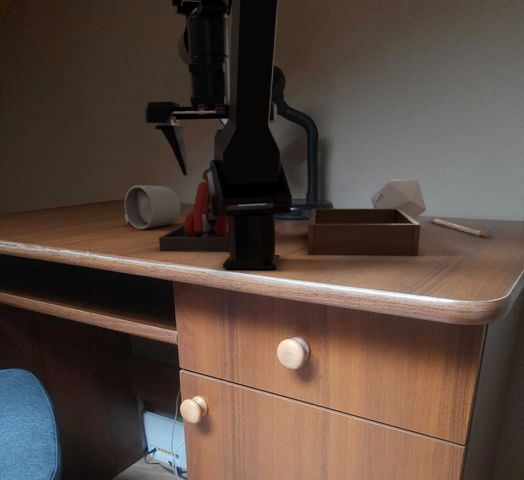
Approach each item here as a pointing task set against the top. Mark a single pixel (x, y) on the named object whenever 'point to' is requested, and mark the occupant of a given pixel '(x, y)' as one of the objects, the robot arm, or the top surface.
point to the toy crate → (362, 232)
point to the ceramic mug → (151, 206)
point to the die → (400, 197)
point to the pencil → (458, 227)
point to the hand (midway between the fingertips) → (215, 175)
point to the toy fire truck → (205, 215)
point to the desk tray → (192, 242)
